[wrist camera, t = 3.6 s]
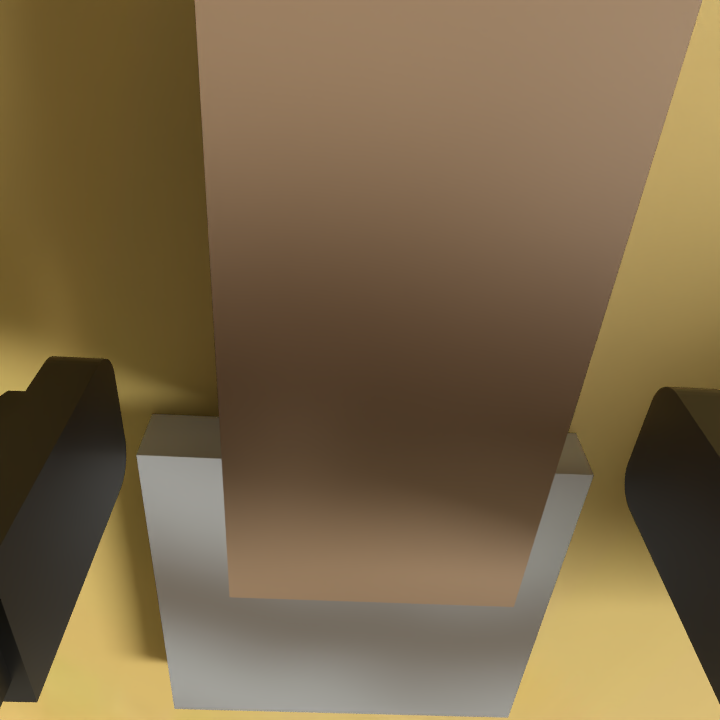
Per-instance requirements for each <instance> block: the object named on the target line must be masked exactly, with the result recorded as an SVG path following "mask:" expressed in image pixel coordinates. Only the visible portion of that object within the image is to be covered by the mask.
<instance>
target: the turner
mask: <svg viewBox="0 0 720 720" xmlns="http://www.w3.org/2000/svg"><path fill="white" fill-rule="evenodd" d="M701 3H702V0H195V15H196V32H197V49H198V66H199V83H200V100H201V117H202V135H203V152H204V169H205V186H206V203H207V220H208V237H209V254H210V271H211V288H212V305H213V323H214V340H215V357H216V374H217V391H218V408H219V417H211V416H189V415H167V414H152V416H151V419H150V421H149V424H148V426H147V429H146V431H145V434H144V437H143V439H142V442H141V444H140V447H139V449H138V452H137V455H136V456H137V463H138V469H139V476H140V483H141V489H142V496H143V503H144V509H145V516H146V523H147V529H148V536H149V542H150V549H151V556H152V562H153V569H154V576H155V582H156V589H157V595H158V602H159V609H160V615H161V622H162V629H163V635H164V642H165V649H166V655H167V662H168V668H169V675H170V682H171V688H172V695H173V702H174V708H175V709H204V710H242V711H280V712H318V713H356V714H394V715H431V716H469V717H507V718H508V716H509V713H510V710H511V708H512V705H513V702H514V699H515V696H516V693H517V691H518V688H519V685H520V682H521V679H522V676H523V674H524V671H525V668H526V665H527V662H528V660H529V657H530V654H531V651H532V648H533V645H534V643H535V640H536V637H537V634H538V631H539V628H540V626H541V623H542V620H543V617H544V614H545V612H546V609H547V606H548V603H549V600H550V597H551V595H552V592H553V589H554V586H555V583H556V580H557V578H558V575H559V572H560V569H561V566H562V563H563V561H564V558H565V555H566V552H567V549H568V547H569V544H570V541H571V538H572V535H573V532H574V530H575V527H576V524H577V521H578V518H579V515H580V513H581V510H582V507H583V504H584V501H585V498H586V496H587V493H588V490H589V487H590V484H591V482H592V479H593V476H594V475H593V472H592V470H591V468H590V465H589V463H588V460H587V458H586V456H585V453H584V451H583V449H582V446H581V444H580V442H579V439H578V437H577V435H576V433H568V431H569V428H570V425H571V421H572V418H573V415H574V412H575V408H576V405H577V402H578V399H579V396H580V392H581V389H582V386H583V383H584V379H585V376H586V373H587V370H588V367H589V363H590V360H591V357H592V354H593V350H594V347H595V344H596V341H597V338H598V334H599V331H600V328H601V325H602V321H603V318H604V315H605V312H606V309H607V305H608V302H609V299H610V296H611V293H612V289H613V286H614V283H615V280H616V276H617V273H618V270H619V267H620V264H621V260H622V257H623V254H624V251H625V247H626V244H627V241H628V238H629V235H630V231H631V228H632V225H633V222H634V218H635V215H636V212H637V209H638V206H639V202H640V199H641V196H642V193H643V190H644V186H645V183H646V180H647V177H648V173H649V170H650V167H651V164H652V161H653V157H654V154H655V151H656V148H657V144H658V141H659V138H660V135H661V132H662V128H663V125H664V122H665V119H666V115H667V112H668V109H669V106H670V103H671V99H672V96H673V93H674V90H675V86H676V83H677V80H678V77H679V74H680V70H681V67H682V64H683V61H684V58H685V54H686V51H687V48H688V45H689V41H690V38H691V35H692V32H693V29H694V25H695V22H696V19H697V16H698V12H699V9H700V6H701Z"/></svg>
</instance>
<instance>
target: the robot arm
mask: <svg viewBox="0 0 720 720" xmlns="http://www.w3.org/2000/svg"><path fill="white" fill-rule="evenodd" d="M125 466H126V442H125V435H124V429H123V423H122V417H121V411H120V404H119V398H118V392H117V386H116V380H115V374H114V369H113V366H112V364H111V362H110V361H109V360H108V359H99V358H78V357H57V356H52V357H49V358H48V359H47V360H46V361H45V363H44V364H43V366H42V367H41V369H40V370H39V372H38V373H37V375H36V376H35V378H34V379H33V381H32V382H31V384H30V385H29V387H28V388H27V390H26V391H7V392H5V393H4V394H3V395H1V396H0V707H1V704H2V702H3V701H5V702H37V701H38V699H39V696H40V693H41V691H42V688H43V686H44V683H45V681H46V678H47V676H48V673H49V670H50V668H51V665H52V663H53V660H54V658H55V655H56V653H57V650H58V647H59V645H60V642H61V640H62V637H63V635H64V632H65V630H66V627H67V624H68V622H69V619H70V617H71V614H72V612H73V609H74V607H75V604H76V601H77V599H78V596H79V594H80V591H81V589H82V586H83V584H84V581H85V578H86V576H87V573H88V571H89V568H90V566H91V563H92V560H93V558H94V555H95V553H96V550H97V548H98V545H99V543H100V540H101V537H102V535H103V532H104V530H105V527H106V525H107V522H108V520H109V517H110V514H111V512H112V509H113V507H114V504H115V502H116V499H117V497H118V494H119V491H120V489H121V486H122V482H123V478H124V474H125ZM625 495H626V500H627V504H628V507H629V510H630V512H631V514H632V516H633V518H634V521H635V523H636V525H637V527H638V529H639V531H640V533H641V536H642V538H643V540H644V542H645V544H646V546H647V549H648V551H649V553H650V555H651V557H652V559H653V561H654V564H655V566H656V568H657V570H658V572H659V574H660V576H661V579H662V581H663V583H664V585H665V587H666V589H667V592H668V594H669V596H670V598H671V600H672V602H673V604H674V607H675V609H676V611H677V613H678V615H679V617H680V620H681V622H682V624H683V626H684V628H685V630H686V632H687V635H688V637H689V639H690V641H691V643H692V645H693V647H694V650H695V652H696V654H697V656H698V658H699V660H700V663H701V665H702V667H703V669H704V671H705V673H706V675H707V678H708V680H709V682H710V684H711V686H712V688H713V691H714V693H715V695H716V697H717V699H718V701H719V703H720V390H717V389H700V388H679V387H663V388H661V389H659V390H658V391H657V393H656V394H655V396H654V397H653V400H652V402H651V405H650V407H649V410H648V412H647V415H646V418H645V420H644V423H643V426H642V428H641V431H640V433H639V436H638V439H637V441H636V444H635V446H634V449H633V452H632V454H631V457H630V460H629V462H628V465H627V468H626V473H625Z"/></svg>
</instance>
